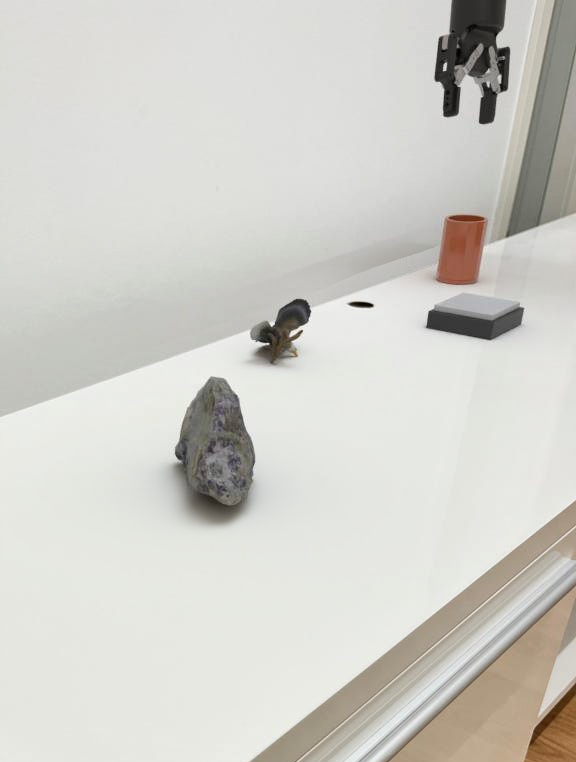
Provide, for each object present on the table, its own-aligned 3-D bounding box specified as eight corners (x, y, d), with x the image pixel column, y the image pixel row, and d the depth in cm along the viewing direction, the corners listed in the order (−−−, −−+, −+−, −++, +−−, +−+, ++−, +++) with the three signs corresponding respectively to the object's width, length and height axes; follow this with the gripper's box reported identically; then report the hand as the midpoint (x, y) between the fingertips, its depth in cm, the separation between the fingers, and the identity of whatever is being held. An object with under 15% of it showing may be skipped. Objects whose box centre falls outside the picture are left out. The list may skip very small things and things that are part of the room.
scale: (521, 324, 139) (525, 301, 137) (490, 339, 134) (494, 316, 132) (457, 312, 144) (461, 291, 143) (425, 327, 139) (429, 304, 137)
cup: (484, 278, 160) (495, 217, 155) (466, 286, 156) (476, 223, 152) (447, 272, 164) (457, 212, 159) (428, 280, 160) (437, 219, 155)
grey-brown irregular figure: (319, 357, 125) (324, 323, 132) (290, 309, 122) (296, 277, 128) (265, 385, 130) (272, 351, 136) (235, 340, 126) (244, 307, 133)
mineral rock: (230, 525, 90) (236, 416, 85) (124, 501, 95) (123, 395, 89) (287, 473, 99) (295, 371, 94) (187, 453, 104) (190, 355, 99)
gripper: (471, -21, 141) (460, 109, 145) (531, -2, 149) (519, 121, 153) (425, -6, 147) (416, 119, 151) (486, 11, 154) (476, 130, 159)
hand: (468, 120), depth 152 cm, fingers open, 8 cm apart
